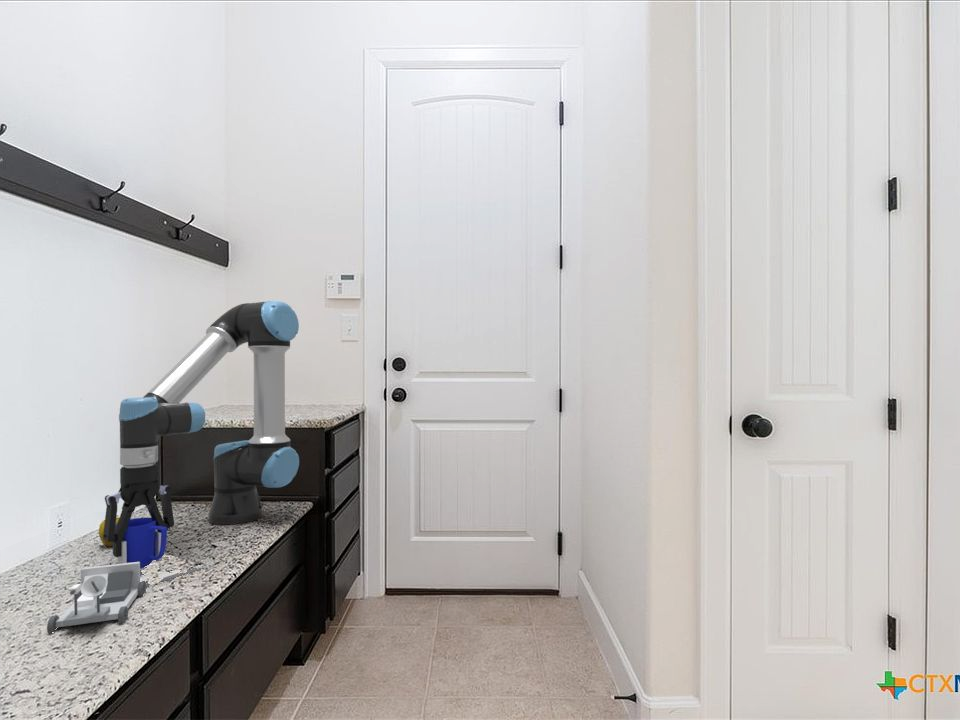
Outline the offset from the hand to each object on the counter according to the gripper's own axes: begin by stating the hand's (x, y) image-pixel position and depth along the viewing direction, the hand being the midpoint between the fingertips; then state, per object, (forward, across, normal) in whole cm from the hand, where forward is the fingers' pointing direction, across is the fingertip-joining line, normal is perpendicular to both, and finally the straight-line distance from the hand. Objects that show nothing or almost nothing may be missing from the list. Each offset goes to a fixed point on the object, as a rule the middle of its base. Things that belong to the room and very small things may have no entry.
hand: (140, 564), depth 129 cm
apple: (+1, +4, +24) cm, 24 cm away
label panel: (+1, 0, -4) cm, 5 cm away
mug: (+1, +1, 0) cm, 1 cm away
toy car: (+2, -16, -19) cm, 25 cm away
